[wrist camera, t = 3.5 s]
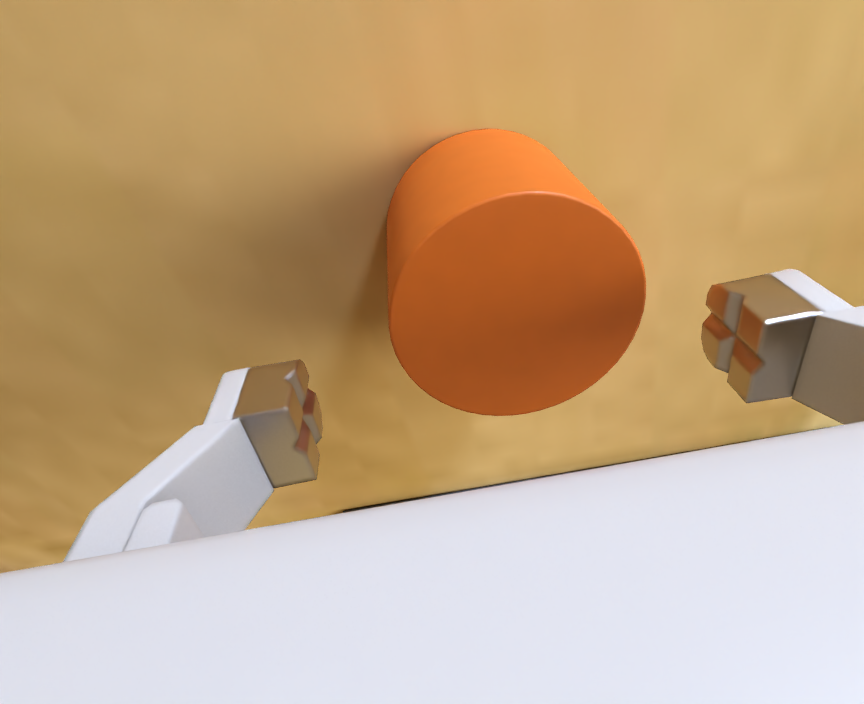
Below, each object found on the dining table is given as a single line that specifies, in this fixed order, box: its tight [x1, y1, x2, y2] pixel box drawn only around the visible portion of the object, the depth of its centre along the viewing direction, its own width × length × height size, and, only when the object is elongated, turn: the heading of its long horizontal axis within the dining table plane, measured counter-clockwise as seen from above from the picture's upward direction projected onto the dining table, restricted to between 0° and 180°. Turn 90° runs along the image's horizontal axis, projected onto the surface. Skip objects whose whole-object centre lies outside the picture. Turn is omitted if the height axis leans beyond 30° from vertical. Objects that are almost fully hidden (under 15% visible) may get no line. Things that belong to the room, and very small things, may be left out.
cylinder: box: [387, 129, 646, 416], centre depth 13 cm, size 6×6×5 cm
